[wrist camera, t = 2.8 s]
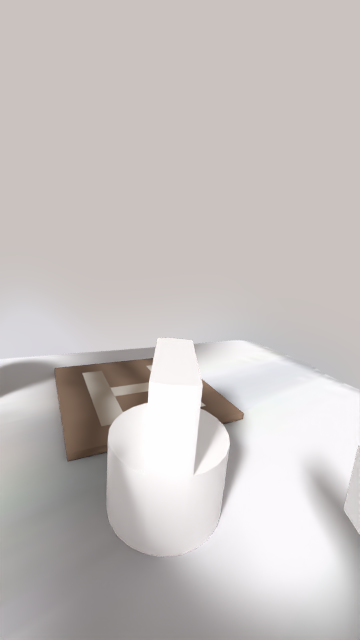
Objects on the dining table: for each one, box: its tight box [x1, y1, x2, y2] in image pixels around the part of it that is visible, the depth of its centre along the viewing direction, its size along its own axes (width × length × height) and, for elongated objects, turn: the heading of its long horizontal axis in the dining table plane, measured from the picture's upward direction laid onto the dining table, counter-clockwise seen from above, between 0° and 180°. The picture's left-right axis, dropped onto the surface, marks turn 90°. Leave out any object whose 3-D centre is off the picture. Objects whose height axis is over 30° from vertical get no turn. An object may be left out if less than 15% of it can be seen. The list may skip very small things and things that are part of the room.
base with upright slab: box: [106, 338, 230, 557], centre depth 21 cm, size 9×9×12 cm
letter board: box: [55, 358, 243, 461], centre depth 38 cm, size 20×20×1 cm
